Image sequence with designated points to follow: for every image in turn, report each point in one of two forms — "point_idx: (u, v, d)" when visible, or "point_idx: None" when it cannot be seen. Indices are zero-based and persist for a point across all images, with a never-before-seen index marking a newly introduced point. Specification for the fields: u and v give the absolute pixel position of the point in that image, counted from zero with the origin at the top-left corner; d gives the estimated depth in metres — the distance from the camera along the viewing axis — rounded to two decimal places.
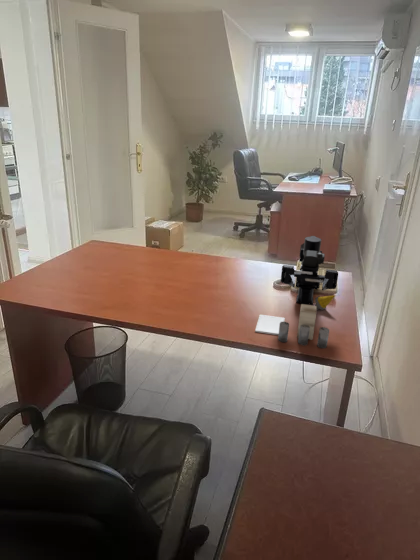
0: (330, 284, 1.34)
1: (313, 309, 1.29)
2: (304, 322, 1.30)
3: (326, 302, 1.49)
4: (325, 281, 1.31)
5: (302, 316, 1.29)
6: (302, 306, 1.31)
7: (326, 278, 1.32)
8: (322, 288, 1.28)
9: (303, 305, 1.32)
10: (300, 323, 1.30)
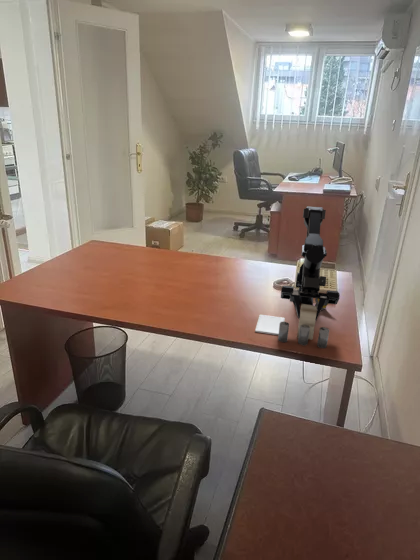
0: (325, 303, 1.33)
1: (313, 309, 1.29)
2: (304, 322, 1.30)
3: None
4: (319, 309, 1.30)
5: (302, 316, 1.29)
6: (302, 306, 1.31)
7: (320, 304, 1.30)
8: (315, 320, 1.29)
9: (303, 305, 1.32)
10: (300, 323, 1.30)
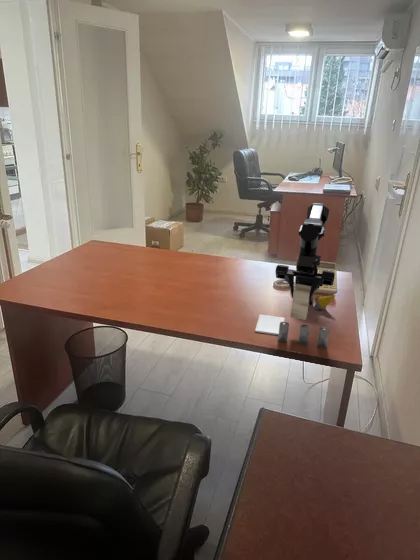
0: (320, 284, 1.30)
1: (307, 289, 1.27)
2: (297, 301, 1.28)
3: (326, 302, 1.49)
4: (313, 289, 1.27)
5: (295, 295, 1.27)
6: (296, 285, 1.29)
7: (314, 284, 1.28)
8: (309, 299, 1.27)
9: (298, 285, 1.30)
10: (293, 302, 1.28)
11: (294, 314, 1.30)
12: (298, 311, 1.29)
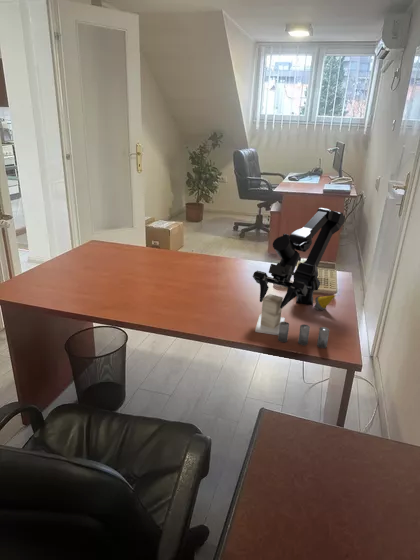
0: (296, 294, 1.34)
1: (276, 299, 1.34)
2: (266, 310, 1.35)
3: (326, 302, 1.49)
4: (285, 297, 1.32)
5: (264, 304, 1.35)
6: (268, 295, 1.37)
7: (288, 293, 1.32)
8: (280, 307, 1.33)
9: (270, 295, 1.37)
10: (263, 311, 1.36)
11: (263, 322, 1.37)
12: (267, 319, 1.36)
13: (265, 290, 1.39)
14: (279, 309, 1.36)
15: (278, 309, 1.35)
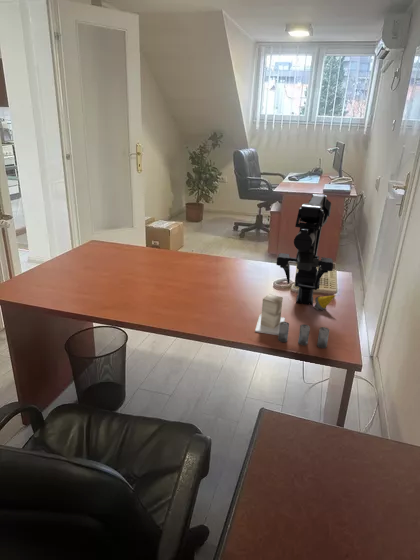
0: None
1: (276, 299, 1.34)
2: (266, 310, 1.35)
3: (326, 302, 1.49)
4: (318, 278, 1.37)
5: (264, 304, 1.35)
6: (268, 295, 1.37)
7: (320, 274, 1.36)
8: (314, 286, 1.39)
9: (270, 295, 1.37)
10: (263, 311, 1.36)
11: (263, 322, 1.37)
12: (267, 319, 1.36)
13: (289, 270, 1.40)
14: (279, 309, 1.36)
15: (278, 309, 1.35)
